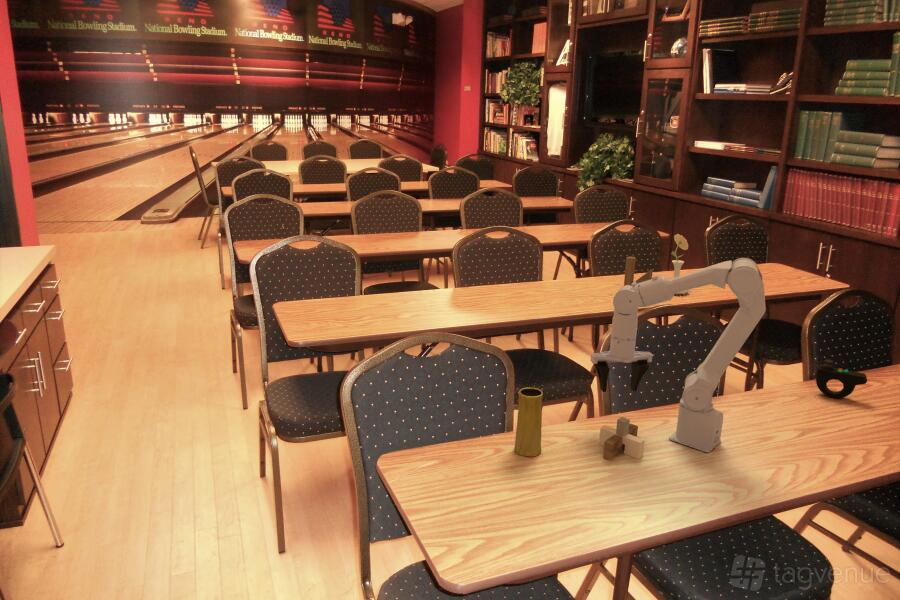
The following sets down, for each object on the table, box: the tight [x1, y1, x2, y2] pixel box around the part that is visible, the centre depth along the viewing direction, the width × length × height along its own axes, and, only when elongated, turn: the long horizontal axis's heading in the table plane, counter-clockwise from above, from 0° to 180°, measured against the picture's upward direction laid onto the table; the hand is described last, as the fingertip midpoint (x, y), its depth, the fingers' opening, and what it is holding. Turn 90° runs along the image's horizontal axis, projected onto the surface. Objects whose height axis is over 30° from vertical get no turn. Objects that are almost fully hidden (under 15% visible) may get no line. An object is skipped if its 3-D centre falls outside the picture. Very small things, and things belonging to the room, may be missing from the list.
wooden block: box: [623, 256, 654, 286], centre depth 267 cm, size 4×11×18 cm, turn 54°
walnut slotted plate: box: [602, 423, 639, 461], centre depth 150 cm, size 12×2×4 cm, turn 138°
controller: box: [813, 359, 868, 399], centre depth 180 cm, size 4×12×10 cm, turn 58°
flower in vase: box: [670, 233, 690, 295], centre depth 282 cm, size 13×11×25 cm
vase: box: [513, 387, 544, 458], centre depth 148 cm, size 6×6×14 cm
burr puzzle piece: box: [598, 416, 646, 460], centre depth 150 cm, size 10×2×8 cm, turn 46°
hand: (618, 389), depth 160 cm, fingers open, 7 cm apart
